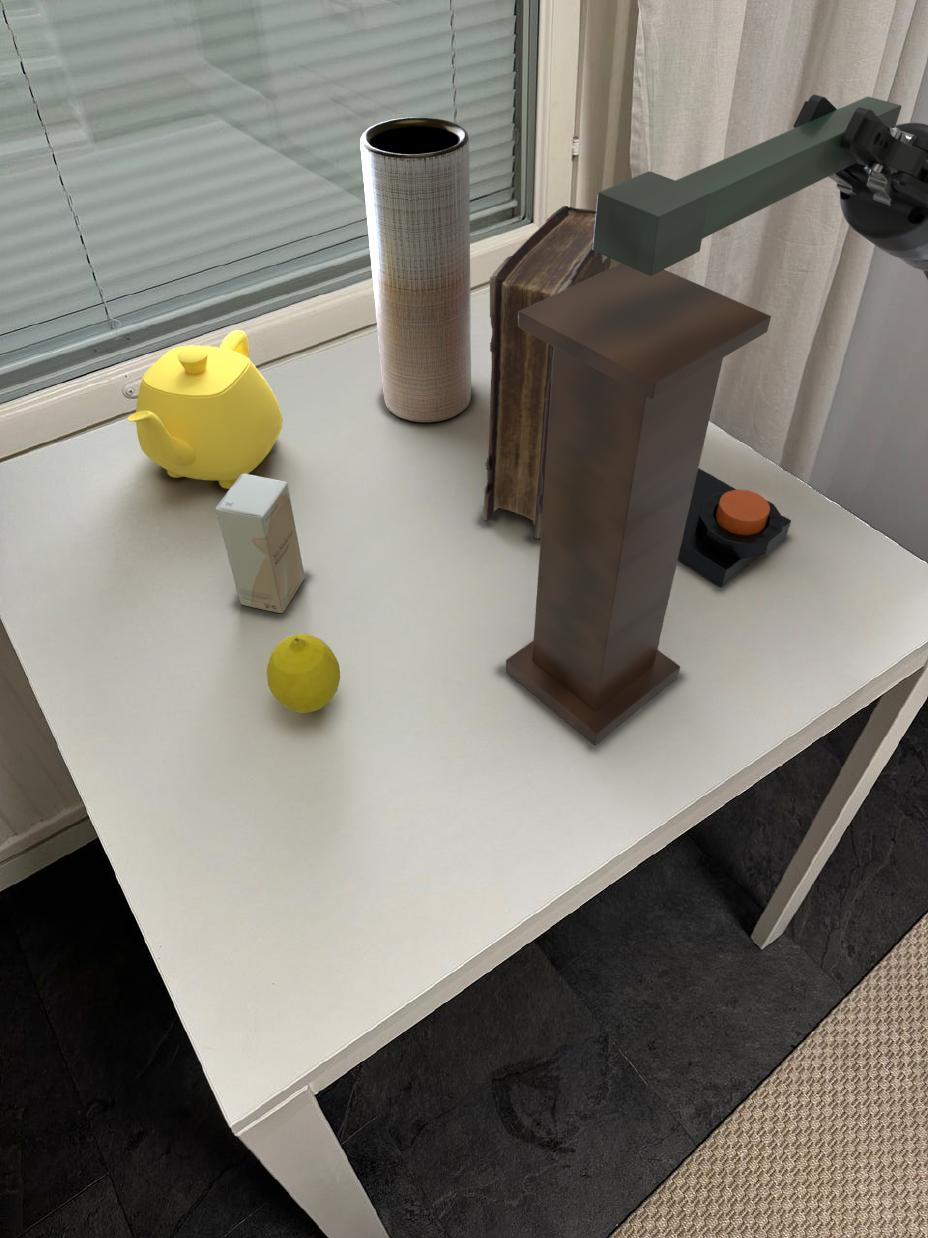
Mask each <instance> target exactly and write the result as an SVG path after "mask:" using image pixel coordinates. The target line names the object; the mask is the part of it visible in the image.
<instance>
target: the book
mask: <svg viewBox="0 0 928 1238" xmlns="http://www.w3.org/2000/svg"><path fill="white" fill-rule="evenodd" d="M595 218H596V209H589V208H580V207H579V208H577V207H573V206H567V205H562V206H561V207H560V208H558V209H557V210H556V211H555V212H553V213H552V214H551V215H550V216H549V217H547V218H546V219H545V222H544V223H543V224H542V225H541V226H540V227H539V228H538V229H537V230H536V231H535V232H533V234H532V235H531V236H529V237H528V239H526V241H525V242H524V243H522V244H521V246H520V247H519V248H518V249H517V250H516V251H515V252H514V253H513V254H512V255H509V256H508V257H506V258H505V259H504V260H502V262H501V263H500V264H499V266H498V267H497V268H496V269H495V270H494V271H493V273H492V274H491V275H490V276H489V318H490V326H491V339H490V342H489V352H491V372H490V393H489V396H490V397H489V398H490V399H489V421H488V422H489V424H488V448H487V458H486V462H485V463H484V464H485V470H486V484H485V487H484V492H483V510H482V512H483V513H482V518H483V520H484V521H488V520H489V519H490V518H491V516H492V515H493V514H494V512H495V511H497V510H498V509H501V510H507V511H509V512H513V513H515V514H519V515H521V516H524V518H525V517H526V518H527V519H528V520H529V519H530V520H531V521H532V522H533V523H532V524H533V526H534V530H533V537H534V538H535V539H541V526H542V511H543V497H544V482H545V468H546V453H547V439H548V424H549V410H550V395H551V381H552V366H553V352H554V346H552V345H550V344H548V343H547V342H545V341H543V340H541V339H539V338H537V337H535V336H533V335H532V334H530V333H528V332H526V331H524V330H522V329H520V328H519V327H518V314H519V311H521V310H523V309H525V308H527V307H529V306H531V305H534V304H536V303H538V302H540V301H542V300H544V299H546V298H548V297H551V296H553V295H555V294H557V293H559V292H561V291H563V290H565V289H568V288H570V287H572V286H574V285H576V284H578V283H580V282H582V281H585V280H587V279H589V278H591V277H593V276H595V275H597V274H599V273H602V272H604V271H606V270H608V269H610V268H611V265H612V261H611V260H612V259H611V258H609V257H606V256H604V255H602V254H600V253H597V252H595V251H593V240H594V229H595Z"/></svg>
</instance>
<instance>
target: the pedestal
mask: <svg viewBox="0 0 928 1238" xmlns="http://www.w3.org/2000/svg"><path fill="white" fill-rule="evenodd" d="M771 318H772V316H771V315H770V314H767V313H765V312H762V311H761V310H758V309H755V308H754V307H751V306H749V305H746V304H744V303H742V302H739V301H737V300H735V299H733V298H731V297H728V296H726V295H724V294H722V293H719V292H717V291H714V290H712V289H710V288H707V287H705V286H703V285H701V284H699V283H696V282H694V281H691V280H690V279H688V278H685V277H682V276H680V275H678V274H676V273H673V272H671V271H670V270H667V269H664V270H662V271H660V272H658V273H656V274H654V275H652V276H649V275H647V274H645V273H642V272H640V271H638V270H636V269H633V268H631V267H629V266H627V265H624V264H622V263H618V264H617V265H614V266H612V267H609V269H608V270H606V271H604V272H602V273H599V274H597V275H595V276H593V277H591V278H589V279H587V280H585V281H582V282H580V283H578V284H576V285H574V286H572V287H570V288H568V289H565V290H563V291H561V292H559V293H557V294H555V295H553V296H551V297H548V298H546V299H544V300H542V301H540V302H538V303H536V304H534V305H531V306H529V307H527V308H525V309H523V310H521V311H519V314H518V327H519V328H520V329H522V330H524V331H526V332H528V333H530V334H532V335H533V336H535V337H537V338H539V339H541V340H543V341H545V342H547V343H548V344H550V345H552V346H554V352H553V366H552V381H551V395H550V410H549V424H548V439H547V453H546V468H545V482H544V497H543V511H542V526H541V536H540V540H539V542H540V543H539V555H538V569H537V585H536V602H535V615H534V627H533V628H534V629H533V640H532V641H530V642H529V643H528V644H526V645H525V646H524V647H522V648H521V649H519V650H517V652H515V653H513V654H512V655H511V656H509V657H508V658H506V659H505V673H507V674H508V675H509V676H511V677H512V678H513V679H514V680H515V681H516V682H518V683H519V684H520V685H521V686H523V687H524V688H525V689H526V690H527V691H528V692H529V693H531V694H532V695H533V696H534V697H536V698H537V699H538V700H539V701H540V702H542V703H543V704H544V705H545V706H547V707H548V708H549V709H550V710H552V711H553V713H555V714H556V715H557V716H559V717H560V718H561V719H562V720H563V721H565V722H566V723H568V725H570V726H571V727H572V728H573V729H574V730H575V731H576V732H578V733H579V734H580V735H582V736H583V738H584V739H586V740H587V741H589V742H590V743H591V744H592V745H593V746H596V745H597V744H599V743H600V742H601V741H602V740H603V739H604V738H605V737H607V736H608V735H610V734H611V733H612V732H613V731H614V730H616V729H617V728H618V727H619V726H621V725H622V724H623V723H624V722H626V720H628V719H629V718H630V717H631V716H633V715H634V714H635V713H636V712H637V711H639V710H640V709H641V708H643V707H644V706H645V705H646V704H647V703H648V702H650V701H651V700H652V699H653V698H655V697H656V696H657V695H658V694H660V693H661V692H662V691H663V690H664V689H666V688H667V687H668V686H670V685H671V684H672V683H673V682H674V681H676V680H677V679H678V677H679V673H680V669H681V666H680V665H679V664H678V663H676V662H675V661H674V660H673V659H671V658H670V657H668V656H667V655H665V654H664V653H662V652H661V651H660V650H658V649H659V645H660V640H661V635H662V631H663V627H664V623H665V617H666V614H667V609H668V605H669V600H670V595H671V591H672V587H673V582H674V578H675V572H676V569H677V564H678V556H679V551H680V547H681V543H682V538H683V534H684V529H685V525H686V520H687V516H688V512H689V507H690V503H691V498H692V494H693V489H694V485H695V480H696V476H697V472H698V468H700V467H699V466H700V463H701V459H702V458H701V457H702V454H703V449H704V444H705V440H706V436H707V433H708V432H707V431H708V427H709V422H710V417H711V415H712V414H711V413H712V409H713V405H714V400H715V396H716V391H717V388H718V382H719V378H720V374H721V369H722V366H723V365H722V364H723V362H724V361H723V360H724V358H725V357H727V356H728V355H729V356H730V354H732V353H734V352H736V351H737V350H739V349H741V348H742V347H744V346H746V345H748V344H750V343H751V342H753V341H754V340H756V339H758V338H759V337H761V336H763V335H764V334H766V333H768V331H769V326H770V322H771Z"/></svg>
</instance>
